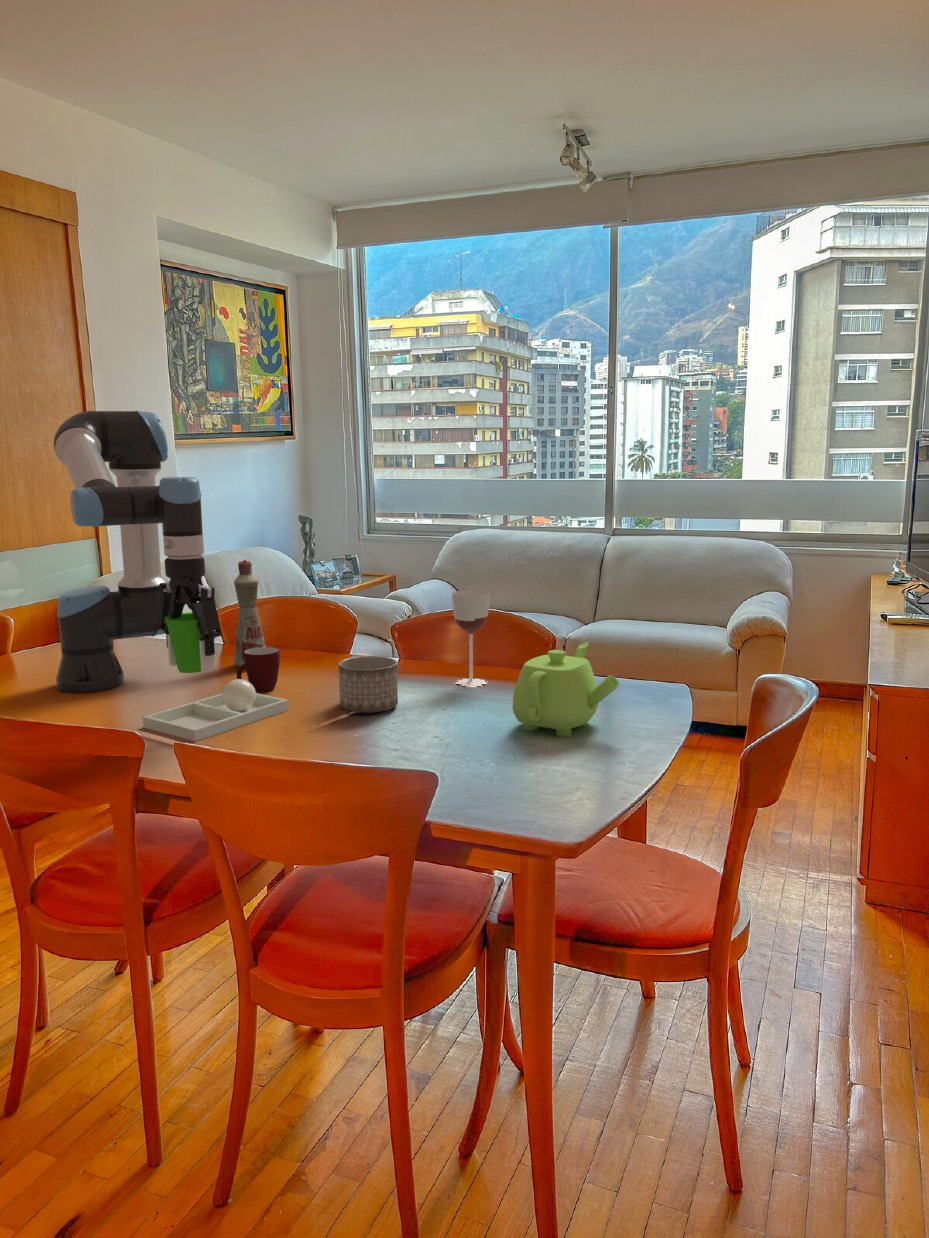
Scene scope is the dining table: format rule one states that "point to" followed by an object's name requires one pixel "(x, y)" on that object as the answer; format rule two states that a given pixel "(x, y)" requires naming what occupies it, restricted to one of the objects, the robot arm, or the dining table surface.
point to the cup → (185, 642)
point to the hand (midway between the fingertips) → (191, 667)
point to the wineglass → (470, 622)
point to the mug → (261, 667)
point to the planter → (368, 684)
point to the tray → (211, 717)
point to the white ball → (239, 695)
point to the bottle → (247, 613)
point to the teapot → (559, 692)
